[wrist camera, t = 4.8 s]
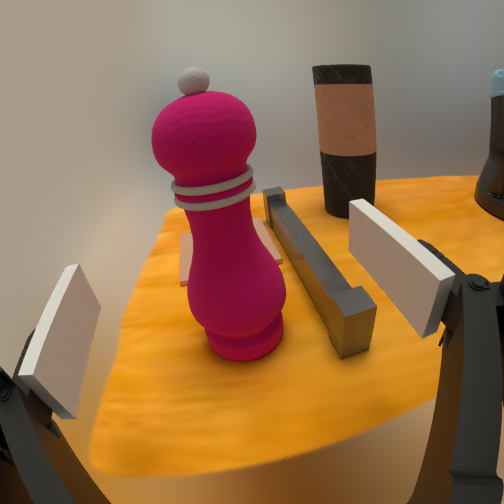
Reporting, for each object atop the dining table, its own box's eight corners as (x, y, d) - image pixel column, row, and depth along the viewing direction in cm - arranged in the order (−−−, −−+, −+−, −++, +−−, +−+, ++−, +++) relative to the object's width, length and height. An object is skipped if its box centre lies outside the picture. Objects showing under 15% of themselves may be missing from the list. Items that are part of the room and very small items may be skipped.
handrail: (369, 349, 21) (377, 306, 18) (340, 358, 21) (345, 316, 18) (283, 217, 42) (279, 186, 39) (266, 220, 41) (262, 190, 39)
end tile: (282, 263, 32) (282, 258, 32) (181, 286, 31) (179, 281, 31) (260, 220, 42) (260, 216, 41) (182, 238, 41) (181, 234, 40)
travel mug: (353, 225, 37) (346, 63, 26) (312, 208, 43) (298, 67, 32) (385, 207, 40) (382, 66, 30) (345, 193, 46) (337, 66, 35)
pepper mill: (280, 297, 28) (248, 62, 17) (298, 357, 22) (266, 49, 11) (203, 311, 28) (143, 84, 17) (203, 373, 21) (108, 83, 11)
